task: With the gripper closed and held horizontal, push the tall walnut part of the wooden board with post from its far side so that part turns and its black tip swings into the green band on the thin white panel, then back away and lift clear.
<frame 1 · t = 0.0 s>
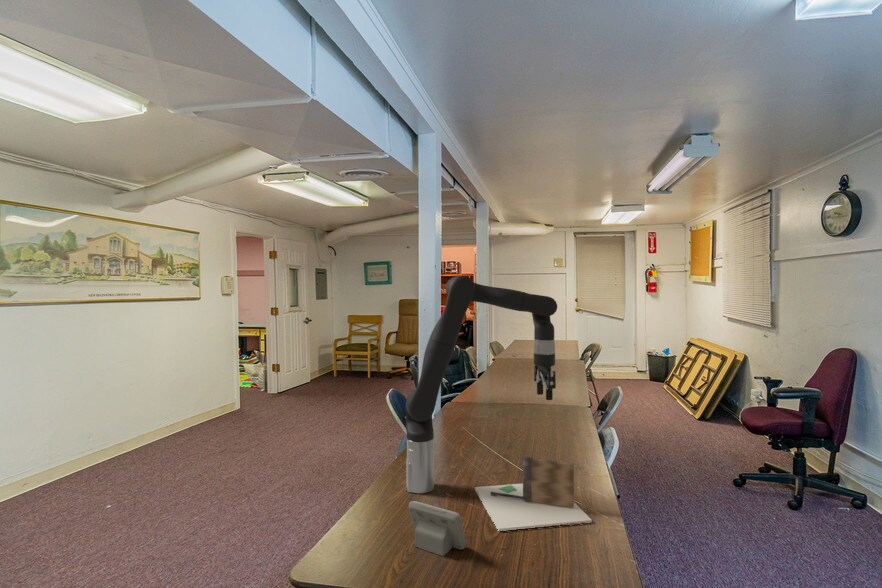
hand: (544, 397, 169), 29 cm above the table, tool pointing down, fingers open, 8 cm apart
thin white panel: (528, 505, 148), on the table
wooden board with post: (530, 479, 148), point 8 cm above the table, hinge at 0.0°
digital clock: (437, 545, 126), on the table
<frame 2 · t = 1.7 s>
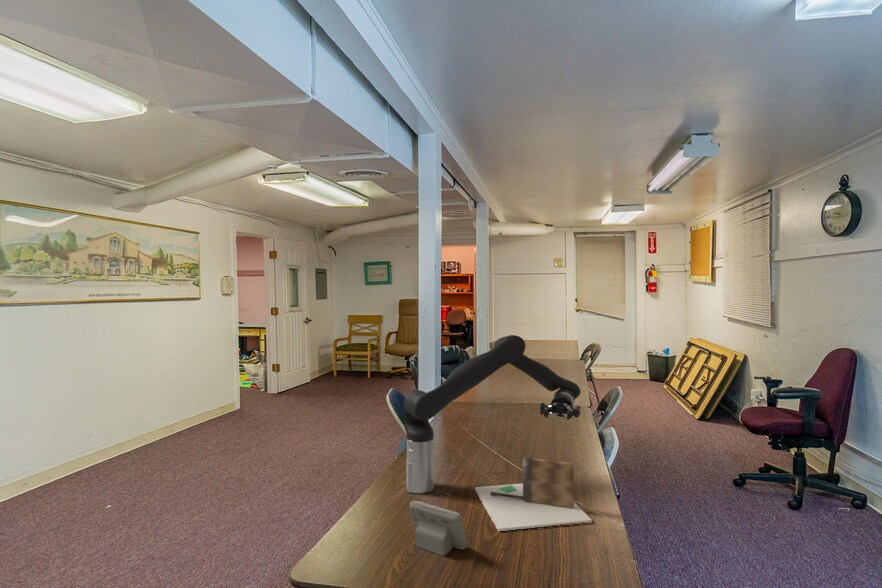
hand: (557, 415, 156), 26 cm above the table, tool horizontal, fingers open, 6 cm apart
nothing on the table moved.
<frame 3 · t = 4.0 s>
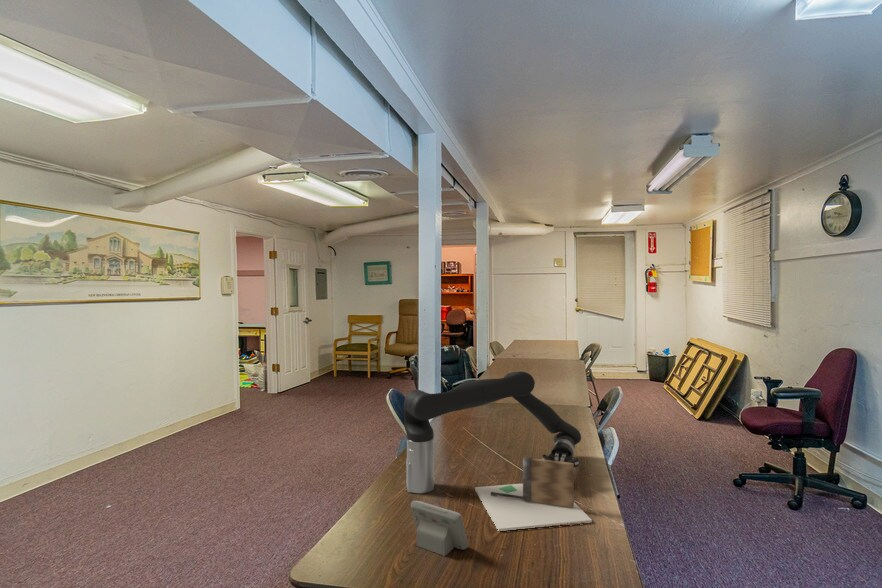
hand: (557, 469, 155), 8 cm above the table, tool horizontal, fingers closed
nothing on the table moved.
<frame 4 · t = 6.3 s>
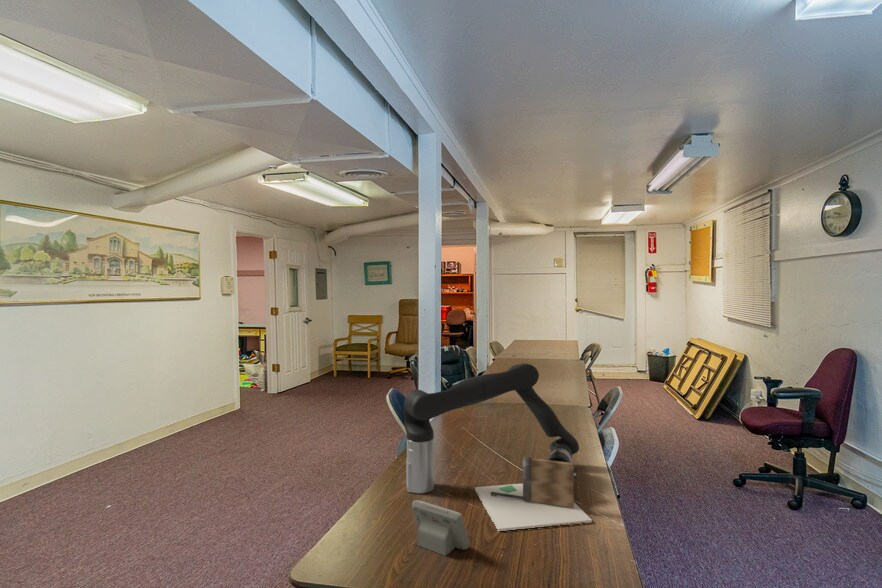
hand: (553, 481, 147), 8 cm above the table, tool horizontal, fingers closed
wooden board with post: (530, 479, 148), point 8 cm above the table, hinge at -0.5°, touching gripper
everything else where it was.
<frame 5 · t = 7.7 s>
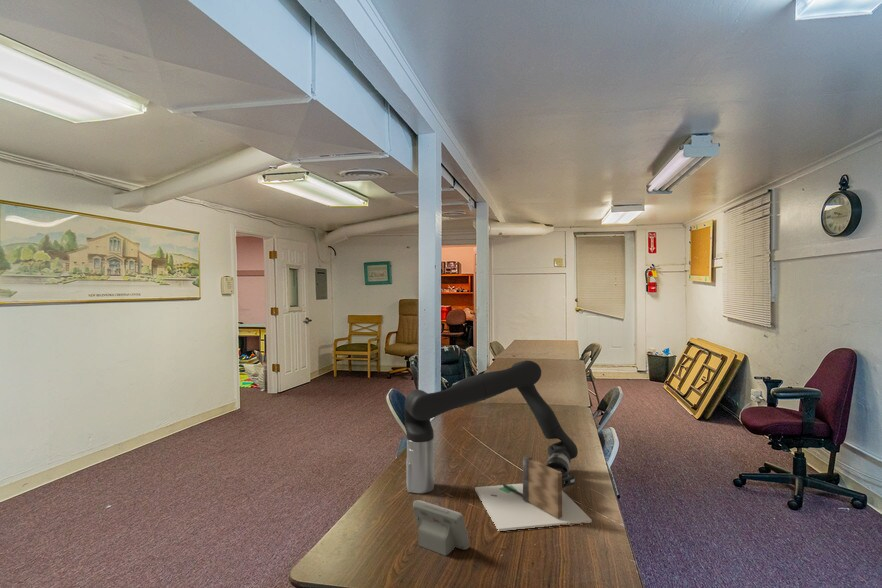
hand: (551, 488, 142), 8 cm above the table, tool horizontal, fingers closed
wooden board with post: (529, 480, 148), point 8 cm above the table, hinge at -38.5°, touching gripper
everything else where it was.
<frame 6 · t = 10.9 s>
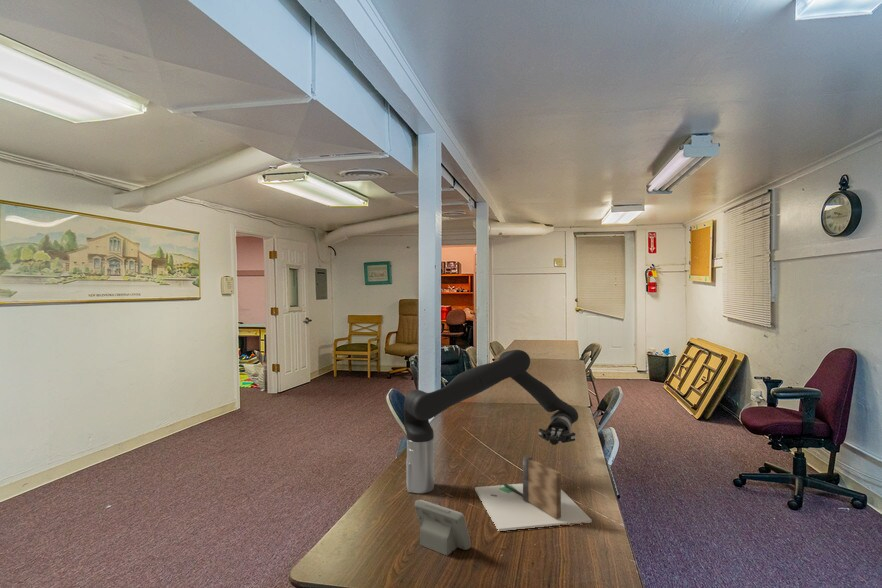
hand: (553, 441, 155), 18 cm above the table, tool horizontal, fingers closed
wooden board with post: (529, 480, 148), point 8 cm above the table, hinge at -40.7°
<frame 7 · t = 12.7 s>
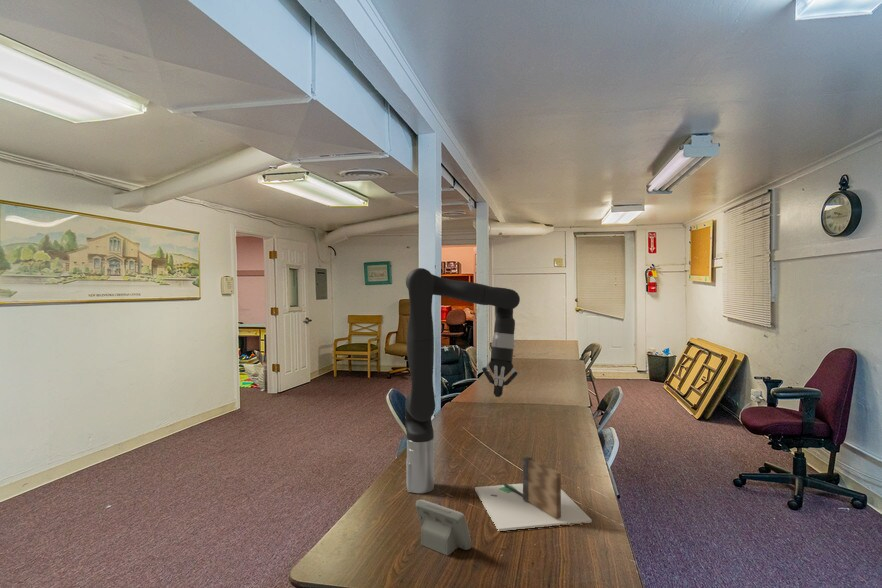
hand: (497, 396, 162), 31 cm above the table, tool pointing down, fingers closed
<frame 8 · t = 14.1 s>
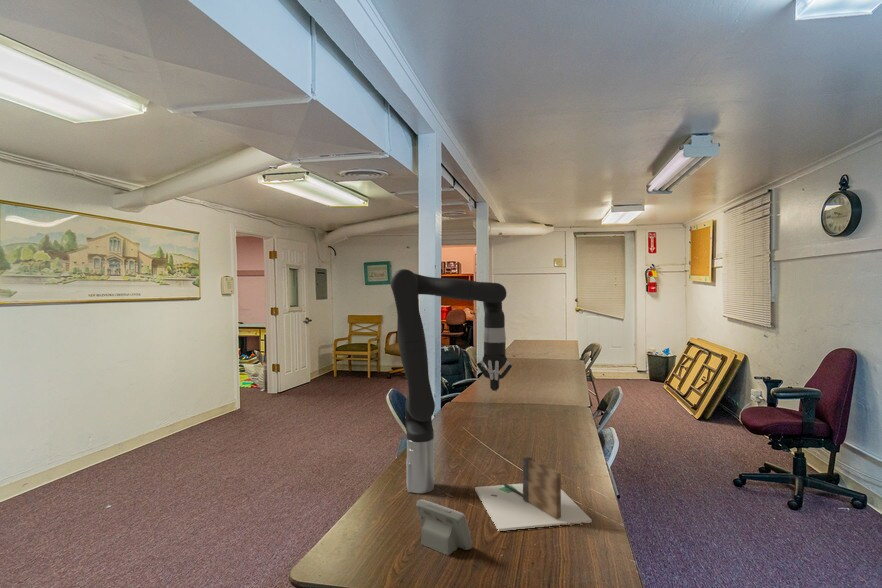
hand: (494, 390, 163), 33 cm above the table, tool pointing down, fingers closed
at the end: wooden board with post at -41° (first picture: +0°) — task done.
